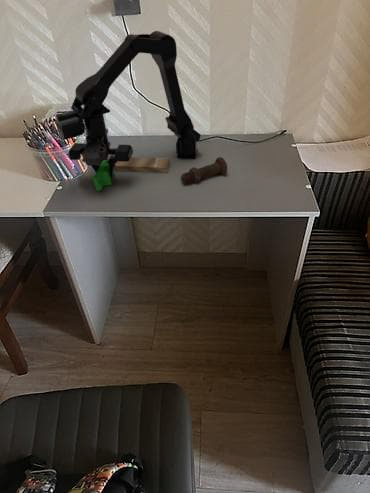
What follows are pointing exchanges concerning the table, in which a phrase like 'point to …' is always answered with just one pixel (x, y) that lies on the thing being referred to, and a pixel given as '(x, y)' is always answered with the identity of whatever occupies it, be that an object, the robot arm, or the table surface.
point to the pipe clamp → (102, 176)
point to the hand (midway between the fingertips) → (105, 176)
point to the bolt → (204, 171)
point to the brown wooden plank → (143, 165)
